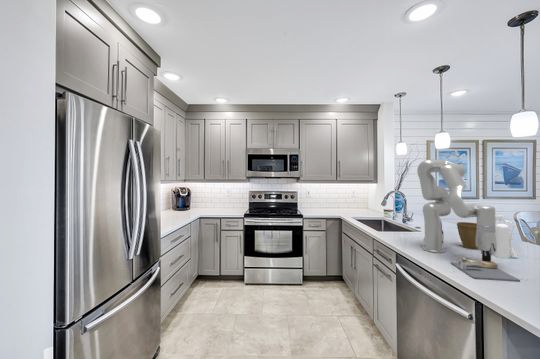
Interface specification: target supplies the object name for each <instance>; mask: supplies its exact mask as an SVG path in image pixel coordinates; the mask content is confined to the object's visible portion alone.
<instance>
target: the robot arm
mask: <svg viewBox="0 0 540 359" xmlns="http://www.w3.org/2000/svg"><path fill="white" fill-rule="evenodd" d="M416 172H417V176H418V180H419V185H420V189H421V194H422V197H423V199H424V200H426V201H432V202H428V203H425V204H424V205H422V214H423V218H424V237H425V239H424V245H423V246H422V247H421V249H422V250H423V251H426V252H429V253H434V254H435V253H436V254H439V253H440V254H442V253H443V254H444V253H446V249H445V248H443V242H442V230H443V223H442V220H441V218H440V217H447V216H448V215H450V214H451V212H452V211H453V213H454V214H455V215H456V216H457V217H458V218H461V219H469V218H476V223H477V231H476V239H475V246H476V247H477V248H478V249H479V250H480V254H481V261H488V262H492V256H493V255H494V252H495V251H496V250H497V244H496V235H495V233H496V226H495V225H496V221H495V216H496V208H495V207H494V206H492V205H480V204H476V203H467V204H466V203H465V202H464V200H463V198H462V193H463V190H465V189H466V188H467V184H466V182H465V181H464V179H463V177H464V176H465V175H466V168H465V167H464V165H461V164H459V163H455V162H452V161H449V160H445V159H425V160H423V161H421V162H420V163H419V164H418V165H417V170H416ZM432 173H440V175H441V177H442V179H443V181H444V183H445V185H446V186H447V188H445V187H444V186H443V185H442V186H440V185H437V184H436V179H435V177H434V175H433V174H432ZM448 190H449V192H448ZM433 201H434V202H433Z"/></svg>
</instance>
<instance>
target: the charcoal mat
mask: <svg viewBox="0 0 540 359" xmlns="http://www.w3.org/2000/svg"><path fill="white" fill-rule="evenodd" d="M450 264H451V265H452V266H454V267H455V268H456V269H458V270H459V271H461V272H462V273H464V274H465V275H467V276H469V277H470V278H472V279H473V280H486V281H500V282H501V281H503V282H519V283H521V279H519V278H517V277H515V276H513V275H511V274H509V273H507V272H506V271H504V270H501V269H499V268H486V267H474V266H466V270H462V269H461V264H460V263H459V262H453V261H451V262H450Z"/></svg>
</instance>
